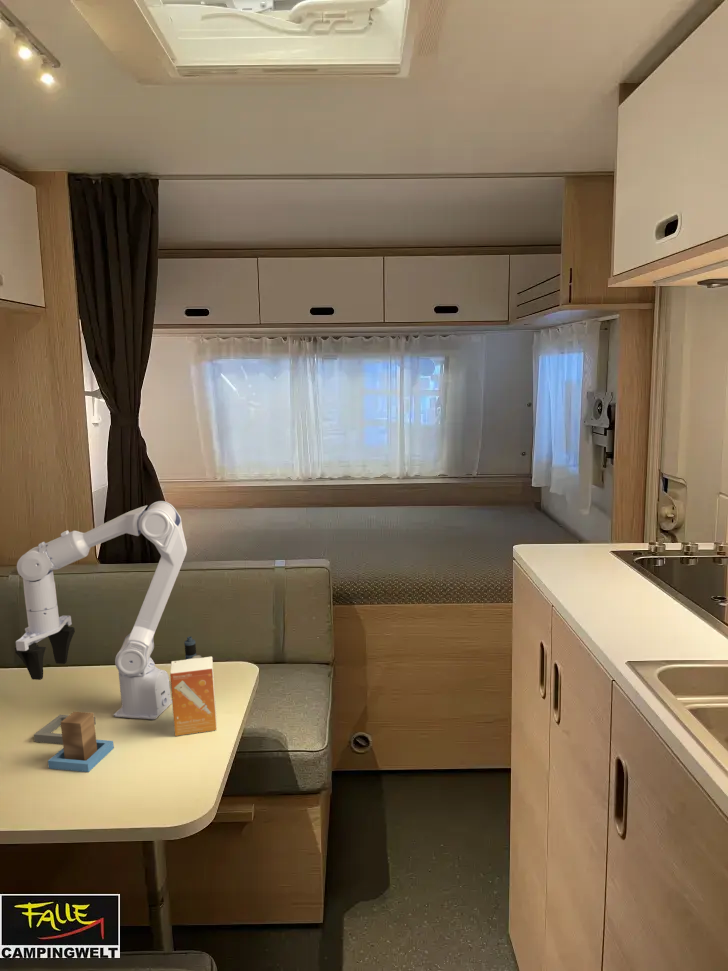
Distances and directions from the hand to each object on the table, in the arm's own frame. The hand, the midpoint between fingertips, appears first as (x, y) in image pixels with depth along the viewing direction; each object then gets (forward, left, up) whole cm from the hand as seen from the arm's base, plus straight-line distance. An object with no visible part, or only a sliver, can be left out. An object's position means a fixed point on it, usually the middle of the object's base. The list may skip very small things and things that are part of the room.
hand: (49, 670), depth 142 cm
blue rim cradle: (-15, +13, -10) cm, 22 cm away
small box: (-31, -1, -11) cm, 33 cm away
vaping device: (-24, -16, -11) cm, 31 cm away
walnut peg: (-15, +13, -10) cm, 22 cm away
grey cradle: (-6, +5, -10) cm, 13 cm away
